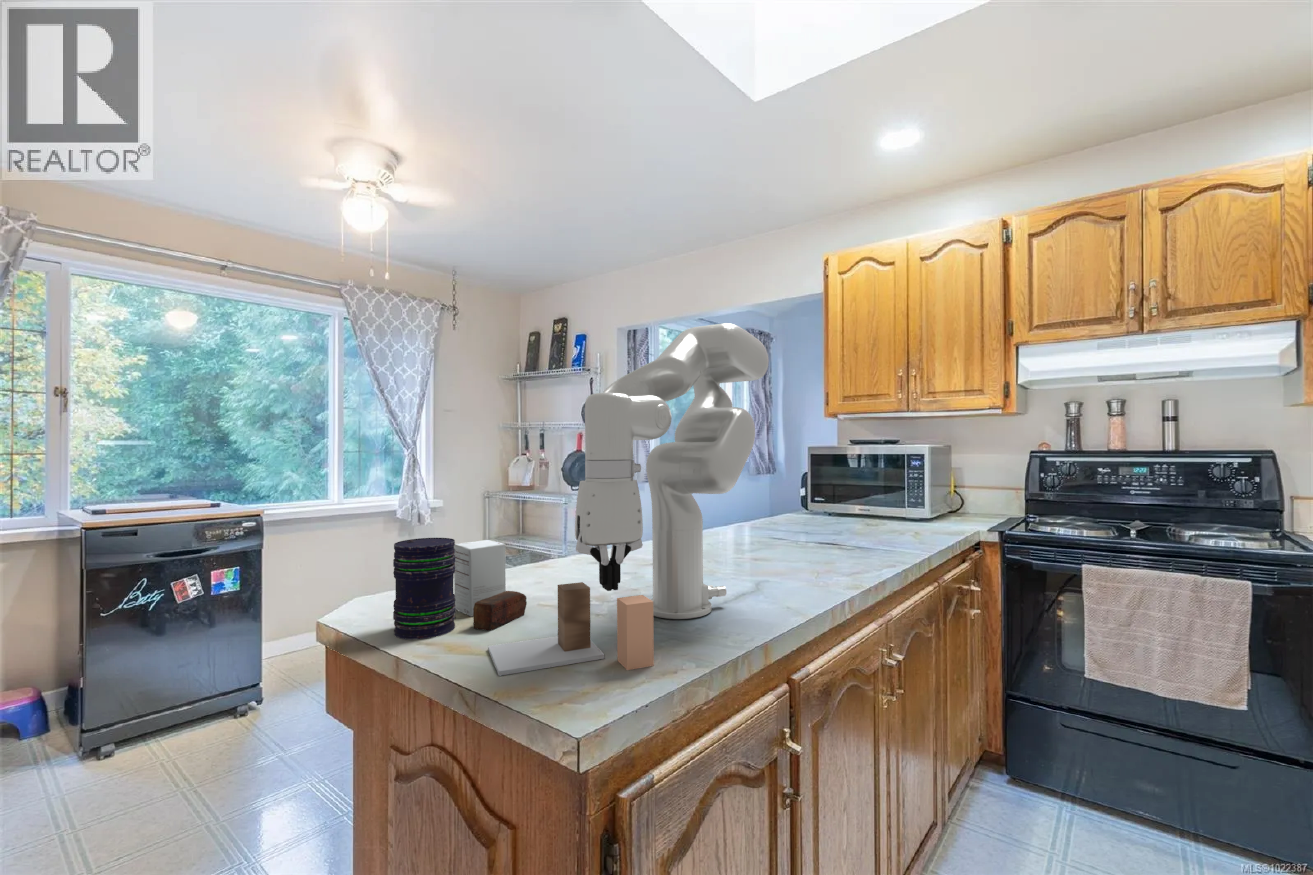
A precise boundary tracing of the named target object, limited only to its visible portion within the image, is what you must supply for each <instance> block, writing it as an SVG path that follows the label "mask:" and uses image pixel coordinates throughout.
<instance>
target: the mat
mask: <svg viewBox="0 0 1313 875" xmlns="http://www.w3.org/2000/svg"><path fill="white" fill-rule="evenodd" d="M487 650H488V651H487V652H488V653H489V655H490V658H491V661H492V662H493V663H492V664H493V665H494V667H495V670H496V673H497V675H498V676H499V677H500V676H505V675H513V674H517V673H524V672H530V671H531V672H532V671H536V670H541V669H542V670H543V669H548V668H553V667H560V666H566V665H567V666H568V665H573V664H578V663H585V662H590V661H597V660H603V659H605V654H604V652H603V651H602V650H601V649H600V648H599V647H598V646H597V645H596V644H595V643H594V642H593V641H592V640H591V648H585V649H579V650H572V651H566V652H564V650H563V649H562V648H561V647H560V645H559V644H558V635H555V636H554V635H553V636H547V637H541V638H534V639H525V640H519V641H512V642H506V643H505V642H504V643H499V644H492V645H487Z"/></svg>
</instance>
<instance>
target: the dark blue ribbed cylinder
mask: <svg viewBox="0 0 1313 875" xmlns="http://www.w3.org/2000/svg"><path fill="white" fill-rule="evenodd" d="M455 544H456V540H455V539H454V538H449V537H422V538H411V539H405V540H400V541H397V542H394V543H393V549H394V552H393V560H392V563H393V564H392V566H393V573H392V574H393V577H394V579H395V599H394V601H393V612H392V613H393V614H392V616H393V617H392V619H393V621H394V622H393V625H394V630H393V635H394V637H395V636H396V637H395V638H397V639H402V640H410V641H413V640H427V639H431V638H432V639H433V638H436V636H438V637H441V636H443V635H444V636H445V635H447V634H448V633H451V632H453V631H454V630H455V628H456V622H455V619H456V611H457V610H456V605H455V601H456V599H455V595H454V573H455V568H456V567H455V548H454V545H455Z"/></svg>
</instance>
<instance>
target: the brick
mask: <svg viewBox="0 0 1313 875" xmlns="http://www.w3.org/2000/svg"><path fill="white" fill-rule="evenodd" d="M527 605H528V603H527V595H526V594H525V593H523V592H522V593H521V592H520V591H515V590H506V591H504V592H502V593H499V594H497V595H494V596H492V597H489V598H485V599H482V600H480V601H477V602H476V603H475V604H474V608H473V616H472V619H473V629H475V630H479V631H489V632H490V631H494V630H496V629H498V628H501V627H503V626H505V625H506V624H508V623H511V622H514V621H515V620H517V619H519V618H521V617H523V616H524V615H525V612H526V608H527Z"/></svg>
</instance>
